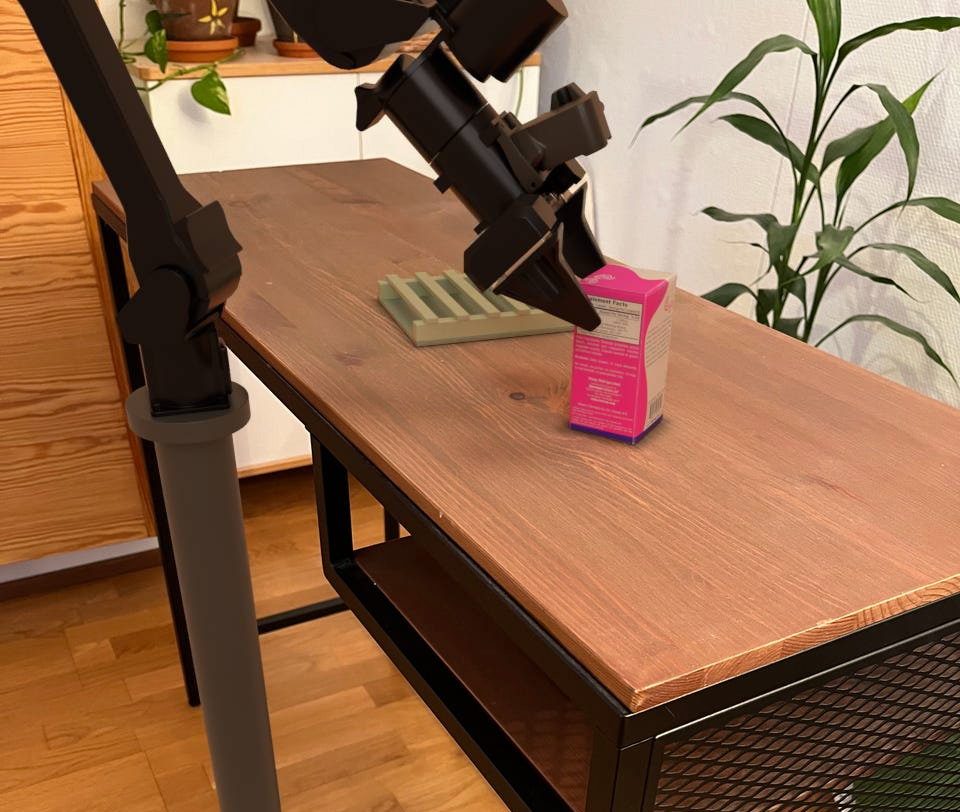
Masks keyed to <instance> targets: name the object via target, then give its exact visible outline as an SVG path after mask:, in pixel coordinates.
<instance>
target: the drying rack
mask: <svg viewBox="0 0 960 812" xmlns="http://www.w3.org/2000/svg"><path fill="white" fill-rule="evenodd" d="M413 275H414V277H409V278H407V277H406V278H402V277H400V276H399V274H398V273H392V274H385V280H377V301H378V302H379V303H380V304H381V306H382V307H383V309H384V310H385V311H386V312H387V313H388V315H390V317H391V318H392V319H393V320H394V321H395V322H396V324H397V325H398V326H399V327H400V329H401V330H402V331H403V333H405V335H407V337H408V338H409V339H410V340H411V342H412V343H413V344H414V345H415V347H417V348H418V347H428V346H438V345H446V344H457V343H469V342H476V341H485V340H486V341H487V340H497V339H505V338H515V337H524V336H534V335H535V336H536V335H544V334H554V333H555V334H556V333H564V332H574V325H573V324H571V323H569V322H566V321H564V320H562V319H560V318H557V317H555V316H553V315H551V314H548V313H546V312H544V311H541V310H539V309H537V308H534V307H532V306H529V305H527V304H524V303H522V302H519V301H516V300H514V299H511V298H509V297H506V296H504V295H501V294H500V295H498V296H496V295H495V294H493V293H492V292H491V291H492V290H493V288H494V287H495V285H496V284H497V282H498V281H499V280H500V279H501V278H502V277H503V276H504V274H503V275H502V276H501V277H500V278H499V279H498V280H497V281H496V282H495V283H494V284H493V285H492V286H491V287H489V288H488V289H487V290H486V291H485V292H483V293H482V292H481V291H480V290H479V289H478V288H477V287H476V286H475V284H474V283H473V282H472V281H471V280H470V279H469V278H468V276H467V275H466V274H465V273H458V272H457V271H456V270H455V269H443V270H442V275H433V276H431V275H430V274H429V273H427V272H426V271H417V272H415V271H414V274H413ZM575 276H576V275H575ZM576 278H577V280H578V281H580V278H579V277H577V276H576Z"/></svg>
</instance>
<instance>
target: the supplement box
mask: <svg viewBox="0 0 960 812" xmlns="http://www.w3.org/2000/svg"><path fill="white" fill-rule="evenodd" d="M677 279H678V274H677V273H676V272H670V271H663V270H654V269H649V268H640V267H636V266H635V267H634V266H630V265H629V266H628V265H623V264H616V263H610V262H609V263H607V265H606V266H604V267H603V268H601V269H599V270H598V271H596V272H594V273H592V274H591V275H589V276H587V277H586V278H584V279H579V283H580V284H581V286H582V288H583V289H584V291H585V293H586V294H587V296H588V297H589V299H590V301H591V302H592V304H593V306H594V307H595V309H596V311H597V313H598V314H599V316H600V318H601V320H602V321H601V324H600V325H599V326H598V327H597V328H596V329H595V330H593V331H592V332H589V331H586V330H584V329H582V328H580V327H577V326H575V325H574V331H573V342H572V363H571V364H572V365H571V380H570V403H569V421H568V422H569V423H568V428H569V429H570V430H575V431H578V432H583V433H587V434H591V435H594V436H599V437H603V438H606V439H611V440H614V441H617V442H618V441H619V442H621V443H626V444H628V445H632V446H633V445H636V444H638V442H639V441H640V440H641V439H642V438H644V437H645V436H646V435H647V434H648V433H649V432H650V431H651V430H652V429H653V428H655V427H656V426H657V425H658V424H660V422H661V421H663V419H664V407H665V395H666V384H667V375H668V368H669V367H668V365H669V359H670V358H669V357H670V347H671V338H672V329H673V328H672V327H673V320H674V319H673V318H674V309H675V299H676V288H677V281H678V280H677Z"/></svg>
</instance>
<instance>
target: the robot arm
mask: <svg viewBox="0 0 960 812" xmlns="http://www.w3.org/2000/svg"><path fill="white" fill-rule="evenodd" d="M267 1H268V2H269V3H270V4H271V6H272V7H273V9H274V10H275V11H276V12H277V14H278V15H279V17H280V18H281V20H282V21H283V22H284V23H285V25H286V26H287V28H288V29H290V30H291V31H292V32H293V33H294V34H295V35H297V37H298V38H300V40H302V42H304V43H305V44H306V45H307V46H308V47H309V48H310V49H311V50H312V51H314V53H316V54H317V56H318V57H320V58H321V59H322V60H323V61H324V62H326V63H327V64H328V65H330V66H332V67H335V68H336V69H339V70H345V71H353V70H358V69H361V68H364V67H368V66H370V65H373V64H375V63H377V62H379V61H381V60H385V59H387V58H389V57H392V55H394V53H396V52H397V51H399V50H400V49H401V47H402V45H403V44H404V42H407V41H410V40H414V39H415V38H418V37H421V36H423V35H426V34H428V33H431V32H434V31H436V30H439V29H441V30H440V31H438V33H437V34H436V35H435V37H434V38H433V39H432V40H431V41H430V42H429V43H428V45H427V46H426V47H425V48H424V49H423V50H422V51H421V52H420V54H419V55H418V56H417V57H414V56H412V55H410V54H408V53H400V54H399V55H398V56H397V57H396V58H395V60H394V61H393V62H392V63H391V65H389V66H388V68H387V69H386V70H385V71H384V73H383V74H382V75H381V76H380V77H379V79H378V80H376V82H375V83H371V82H363V83H360V84H359V85H357V86H355V87H354V90H353V93H354V95H355V101H356V112H355V128H356V130H357V131H358V132H360V133H361V132H363V133H364V132H365V131H367V130H368V129H371V128H372V127H374V126H376V125H377V124H379V122H380V121H381V120H382V119H383V118H384V117H385V116H386V117H387V118H388V120H390V121H391V122H392V124H393V125H394V126H395V127H396V128H397V129H398V131H399V132H400V133H401V134H402V135H403V137H405V139H406V140H407V141H408V143H410V145H411V146H412V147H413V148H414V150H416V151H417V153H418V154H419V155H420V156H421V157H422V159H423V160H424V161H425V162H426V163H427V165H429V167H430V168H431V169H432V170H433V171H434V173H435V174H436V175H437V176H438V177H437V178H436V179H435V180H434V181H433V182H432V184H433V185H434V186H435V187H436V189H437V190H438V191H439V192H440V194H442V195H444V194H445V193H446V192H448V190H450V191H451V192H452V193H453V195H455V197H456V198H457V199H458V200H459V201H460V202H461V205H463V206H464V208H465V209H466V210H467V211H468V212H469V213H470V215H472V217H473V218H474V219H475V220H476V221H477V222H478V223H477V225H475V227H474V228H473V229H472V230H473V231H474V232H475V234H476V235H477V236H476V237H475V238H474V239H473V240H472V241H471V242H470V244H469V245H468V246H467V247H466V249H465V250H464V251H463V274H466V275H467V276H468V278H469V279H470V280H471V281H472V282H473V283H474V284H475V286H476V287H477V288H478V289H479V290H480V291H481V292H482V293H483V292H485V291H486V290H487V289H488V288H489V287H491V286H492V285H493V284H494V283H495V282H496V281H497V280H498V279H499V278H500V277H501V276H502V275H503V274H504V276H503V277H502V278H501V279H500V280H499V281H498V282H497V284H496V285H495V287H494V288H493V290H492V291H491V292H492V293H493V294H495V295H496V296H498V295H500V294H501V295H504V296H506V297H509V298H511V299H514V300H516V301H519V302H522V303H524V304H527V305H529V306H532V307H534V308H537V309H539V310H541V311H544V312H546V313H548V314H551V315H553V316H555V317H557V318H560V319H562V320H564V321H566V322H569V323H571V324H573V325H575V326H577V327H580V328H582V329H584V330H586V331H589V332H592V331H593V330H595V329H596V328H597V327H598V326H599V325H600V324H601V321H602V320H601V318H600V316H599V314H598V313H597V311H596V309H595V307H594V306H593V304H592V302H591V301H590V299H589V297H588V296H587V294H586V293H585V291H584V289H583V288H582V286H581V284H580V283H579V281H580V280H582V279H584V278H586V277H587V276H589V275H591V274H592V273H594V272H596V271H598V270H599V269H601V268H603V267H604V266H606V265H607V264H608V262H607V261H606V258H605V256H604V254H603V252H602V250H601V248H600V246H599V243H598V242H597V239H596V237H595V235H594V233H593V231H592V228H591V227H590V224H589V222H588V219H587V216H586V204H587V203H586V201H587V193H588V189H589V183H588V181H584V182H583V183H582V184H581V185H580V186H579V187H578V188H576V190H575V191H574V192H572V191H571V190H570V189H571V188H572V187H573V186H574V185H578V184H580V182H581V181H582V180H583V178H584V177H585V175H586V174H587V171H586V170H585V169H584V167H583V166H582V165H581V164H580V163H579V161H578V160H577V159H576V158H578V157H580V156H584V157H589V156H591V155H593V154H595V153H597V152H599V151H601V150H603V149H605V148H606V147H607V146H608V144H609V142H608V141H609V140H611V139H612V138H613V135H612V133H611V130H610V127H609V124H608V121H607V118H606V114H605V112H604V111H605V104H604V103H603V102H602V101H601V100H600V97H599V94H598V91H597V90H594V89H593V90H591V91H589V92H587V93H586V92H584V90H583V89H582V88H580V86H579V85H577V83H576V82H575V81H573V82H570V83H568V84H565V85H564V86H562V87H559V88H557V89H556V90H554V91H553V92H552V93H551V96H550V107H549V111H547V112H543V113H541V114H540V115H538V116H537V117H534V118H533V119H531V120H529V121H527V122H524V123H522V122H521V121H520V120H519V119H518V118H517V116H516V115H515V114H514V112H512V111H508V112H507V111H506V110H503V111H502V112H500V113H498V111H497V110H495V107H493V106H492V104H491V103H489V101H488V100H487V98H486V97H485V95H484V94H483V93H482V92H481V91H480V90H479V89H478V87H477V86H476V85H475V83H474V82H473V81H472V80H471V79H470V78H469V76H467V74H466V73H465V71H466V72H467V73H468V74H469V75H470V76H471V77H472V78H474V79H475V80H476V81H477V82H478V83H481V84H486V82H488V80H490V78H491V77H492V78H493V79H495V80H497V82H500V83H502V84H507V83H508V82H509V81H510V80H512V78H513V77H514V76H515V75H516V73H518V71H519V70H520V69H521V68H522V67H523V66H524V65H525V64H526V63H527V62H528V61H529V59H531V57H532V56H533V55H534V54H535V53H536V52H537V51H539V49H540V48H541V47H542V46H543V45H544V43H545V42H547V40H549V38H550V37H551V36H552V35H553V34H554V33H555V32H556V30H557V29H559V27H560V26H562V24H563V23H564V22H565V21H566V20H567V19H568V18H569V12H568V9H567V7H566V4H565V3H564V1H563V0H267ZM16 2H17V4H19V6H20V7H21V9H22V10H23V12H24V14H25V16H26V18H27V20H28V22H29V24H30V26H31V28H32V31H33V33H34V34H35V35H36V38H37V40H38V43H39V44H40V47H41V49H42V51H43V52H44V53H45V56H46V57H47V60H48V62H49V64H50V66H51V68H52V70H53V72H54V74H55V76H56V78H57V80H58V82H59V84H60V86H61V89H62V90H63V92H64V94H65V95H66V98H67V99H68V102H69V103H70V105H71V108H72V110H73V112H74V114H75V115H76V117H77V120H78V121H79V124H80V125H81V128H82V130H83V132H84V134H85V135H86V137H87V139H88V142H89V143H90V145H91V148H92V149H93V152H94V154H95V155H96V157H97V159H98V161H99V164H100V165H101V167H102V169H103V171H104V174H105V175H106V177H107V179H108V181H109V183H110V186H111V187H112V189H113V191H114V193H115V195H116V198H117V199H118V202H119V203H120V206H121V207H122V208H121V209H122V210H123V213H124V220H125V233H126V246H127V248H126V249H127V257H128V260H129V263H130V266H131V269H132V271H133V274H134V278H135V280H136V283H137V285H138V286H137V287H138V289H137V290H136V291H135V292H134V294H133V295H132V296H131V297H130V298H129V299H128V301H127V302H126V303H125V304H124V305H123V306H122V308H121V309H120V310H119V312H117V314H116V315H115V317H114V321H115V323H116V325H117V327H118V329H119V331H120V333H121V335H122V337H123V339H124V341H125V342H126V343H127V344H129V345H130V344H131V345H138V347H139V352H140V353H139V354H140V358H141V363H142V368H143V376H144V381H145V385H144V386H145V391H146V396H147V400H148V405H149V409H150V413H151V416H152V417H164V416H173V415H181V414H190V413H199V412H208V411H216V410H225V409H229V408H230V407H231V405H230V400H229V398H228V395H230V394H231V393H232V392H233V390H232V382H231V381H232V375H231V374H232V373H231V368H230V367H231V366H230V359H229V352H228V347H227V345H226V342H225V339H224V338H222V336H219V332H218V328H217V325H216V323H215V320H216V319H217V318H220V317H222V316H223V315H224V314H225V309H226V306H227V301H228V299H230V298H231V297H232V296H233V295H234V293H235V292H236V291H237V290H238V287H239V285H240V282H241V277H242V276H243V268H242V263H241V259H240V256H239V253H240V252H242V251H243V249H244V247H243V246H242V245H241V243H239V242H238V240H237V239H236V237H235V236H234V235H233V232H232V231H231V228H230V226H229V224H228V220H227V217H226V214H225V210H224V208H223V207H222V204H221V203H220V201H219V200H217V199H214V200H213V201H211V202H209V203H207V204H205V205H202V204H201V202H200V201H198V200H197V198H195V197H194V196H193V195H192V194H191V193H190V192H189V191H188V190H187V189H186V188H185V187H184V185H183V183H182V181H181V180H180V178H179V176H178V173H177V172H176V169H175V168H174V165H173V162H172V161H171V159H170V156H169V155H168V152H167V150H166V148H165V146H164V144H163V142H162V140H161V137H160V135H159V133H158V131H157V129H156V127H155V125H154V122H153V121H152V118H151V116H150V113H149V112H148V110H147V108H146V106H145V103H144V102H143V99H142V98H141V95H140V93H139V91H138V89H137V86H136V84H135V83H134V82H135V81H134V79H133V78H132V76H131V74H130V71H129V70H128V67H127V65H126V63H125V61H124V58H123V57H122V54H121V53H120V50H119V47H118V46H117V44H116V42H115V40H114V38H113V35H112V34H111V31H110V29H109V27H108V25H107V22H106V21H105V18H104V16H103V14H102V12H101V10H100V8H99V6H98V3H97V2H96V0H16ZM445 47H447V48H448V49H449V51H450V52H451V54H452V55H453V57H454V58H455V59H456V61H457V62H458V63H459V64H460V65H458V63H457V62H456V61H455V60H454V58H453V57H452V56H451V55H450V53H449V52H448V51H447V49H445ZM460 66H462V68H463V69H464V70H465V71H464V70H463V69H462V68H461V67H460ZM575 275H576V276H577V277H579V281H578V280H577V278H576V276H575Z"/></svg>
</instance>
